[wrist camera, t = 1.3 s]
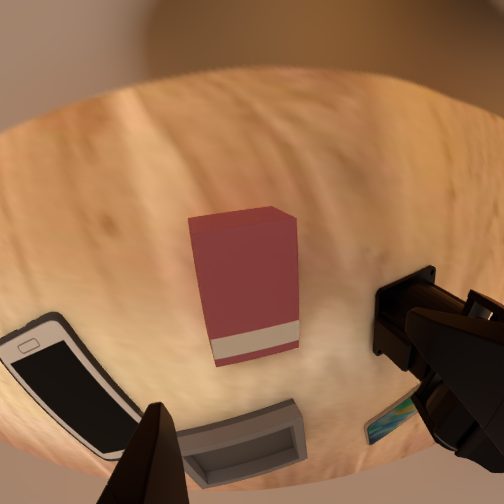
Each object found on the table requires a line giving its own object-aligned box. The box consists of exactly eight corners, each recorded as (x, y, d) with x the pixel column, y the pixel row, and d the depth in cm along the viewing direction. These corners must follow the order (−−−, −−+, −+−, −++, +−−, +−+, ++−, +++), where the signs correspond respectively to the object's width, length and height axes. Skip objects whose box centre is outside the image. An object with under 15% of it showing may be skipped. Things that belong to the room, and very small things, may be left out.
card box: (187, 217, 14) (192, 234, 11) (270, 205, 15) (297, 218, 12) (206, 330, 17) (216, 368, 14) (276, 315, 18) (299, 348, 15)
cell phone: (59, 304, 14) (54, 312, 13) (175, 439, 20) (176, 447, 19) (-6, 339, 13) (-11, 347, 12) (107, 455, 19) (107, 463, 18)
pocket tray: (292, 398, 21) (302, 416, 19) (299, 443, 23) (307, 458, 21) (166, 433, 19) (168, 453, 17) (199, 472, 21) (202, 489, 20)
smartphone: (451, 383, 30) (368, 447, 28) (447, 379, 31) (365, 442, 29) (458, 353, 27) (365, 427, 25) (454, 350, 28) (361, 422, 26)
